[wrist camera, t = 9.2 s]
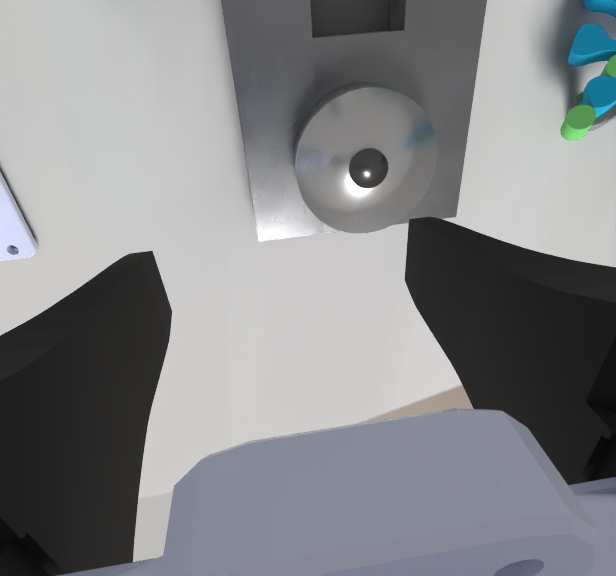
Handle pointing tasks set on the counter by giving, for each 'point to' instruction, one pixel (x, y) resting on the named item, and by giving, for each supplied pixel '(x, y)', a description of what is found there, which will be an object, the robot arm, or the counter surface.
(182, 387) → the counter surface
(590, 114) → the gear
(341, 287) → the counter surface
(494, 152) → the counter surface
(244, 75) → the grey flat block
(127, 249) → the counter surface
